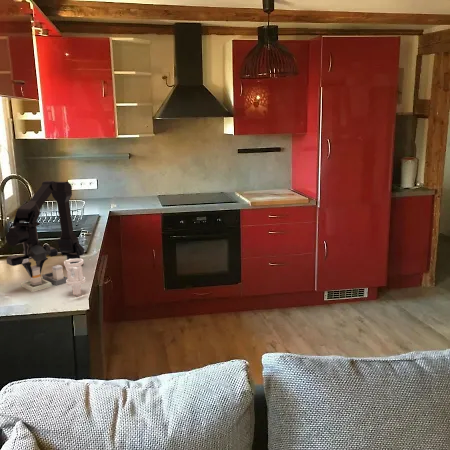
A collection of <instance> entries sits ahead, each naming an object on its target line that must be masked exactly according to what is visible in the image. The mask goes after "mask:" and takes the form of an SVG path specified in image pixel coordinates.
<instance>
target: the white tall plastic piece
mask: <svg viewBox="0 0 450 450" xmlns="http://www.w3.org/2000/svg"><path fill="white" fill-rule="evenodd" d="M70 262H78V263H73V264H70ZM83 264H85V263H84V259H83V258H80V259H79V258H76V259H69V260H67V259H65V260H64V261H63V266H64V267H65V270H66V273H67V274H66V275H67V278H68V279H67V280H66V283H65V284H66V285H68V286H71V288H72V295H75V298H80V297H82V288H81V287H82V286H81V285H82V284H85V283H86V277H85V276H84V275H83V266H82V265H83Z"/></svg>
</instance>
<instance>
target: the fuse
mask: <svg viewBox="0 0 450 450" xmlns="http://www.w3.org/2000/svg"><path fill="white" fill-rule="evenodd" d="M63 266H64V265H60V264H56V265H52V266H51V270H52V271H51V272H53V279H54V280H60V279H64V277H65V276H64V271H63V269H64V268H63Z"/></svg>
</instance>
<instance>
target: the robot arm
mask: <svg viewBox="0 0 450 450" xmlns="http://www.w3.org/2000/svg"><path fill="white" fill-rule="evenodd" d="M72 193H73V186H72V184H71V183H70V182H69V181H55V180H44V181H42V183H41V186H40V187H39V188H38V190H37V191H36V192H35V193H34V195H33V196H32V197H31V198H30V200H29V201H28V202H25V203H23V204H22V205H20V206H19V207H18V208H17V210H16V212H15V215H14V219H13V221H12V225H11V227H9V228H8V230H9V231H7V232H6V235H5V241H6V243H7V244H8V245H10V246H13V247H15V246H17V245H20V244H22V245H23V246H22V247H23V251H22V254H23V255H18V254H13V255H9V256H7V257H6V259H5V260H6V264H7V265H9V266H12V267H15V266H18V265H22V266H23V267H24V269H25V270H26V272H27V274H28V276H29V277H31V278H32V276H33V275H32V270H31V266H32V262H31V261H30V260H31V259H33V261H35V265H36V266H39V267H40V274H41V273H42V270H43V266H44V263H45V262H46V261H47V260H49V258H48V257H47V256H50V257H51V258H52V257H57V256H58V255H59V251H60V253H61V256H66V260H69V259H76V258H79V259H81V256H83V254H84V253H85V248H84V247H83V246H82V245H81V244H80V241H79V238H78V235H76V234H75V232H74V228H73V220H72V212H71V206H70V201H71V198H72V195H73V194H72ZM50 196H52V198H53V199H54V201H55V202H56V204H57V209H58V217H59V223H60V231H61V235H60V237H59V238H58V239H57V242H58V249H59V251H58V249H57V248H55V247H52V246H50V245H43V246H42V245H41V244H42V243H41V241H40V240H39V236H38V229H37V228H38V226H40V222H38V221H37V220H38V219H39V217H40V215H41V208H42V207H43V205H45V203H46V201H47V200H48V199H49V197H50ZM73 263H78V262H70V264H73Z"/></svg>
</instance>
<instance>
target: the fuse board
mask: <svg viewBox="0 0 450 450" xmlns="http://www.w3.org/2000/svg"><path fill="white" fill-rule="evenodd" d="M41 278H42V279H44V280H47V281H49V282H51V284H52V285H54V286H56V287H58V286H62V285H64V284H66V280H67V279H68V276H67V277H66V276H64V279H60V280H54V279H53V271H51V272H48V273H45V274H42V275H41Z"/></svg>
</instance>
